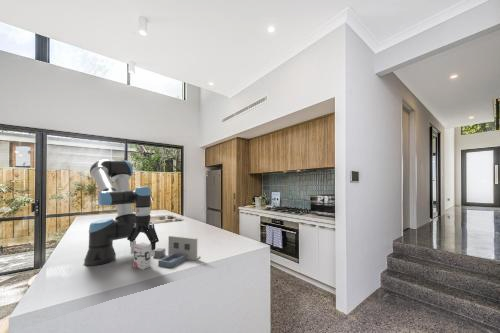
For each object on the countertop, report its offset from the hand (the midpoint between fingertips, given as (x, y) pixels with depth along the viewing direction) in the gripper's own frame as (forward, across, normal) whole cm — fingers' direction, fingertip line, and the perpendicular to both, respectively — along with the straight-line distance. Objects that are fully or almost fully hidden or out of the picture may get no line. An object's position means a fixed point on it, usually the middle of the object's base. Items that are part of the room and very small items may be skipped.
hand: (142, 254), depth 118 cm
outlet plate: (+6, +12, +20) cm, 24 cm away
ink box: (+7, 0, 0) cm, 7 cm away
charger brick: (+6, -4, +16) cm, 18 cm away
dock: (+6, +12, +10) cm, 17 cm away
